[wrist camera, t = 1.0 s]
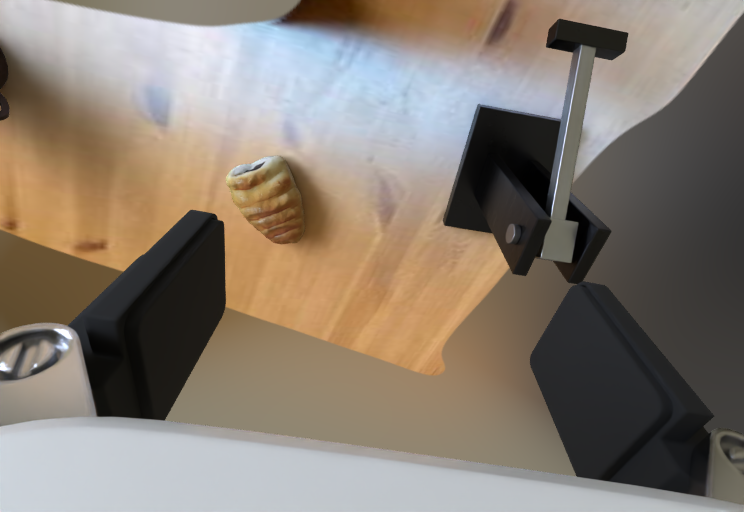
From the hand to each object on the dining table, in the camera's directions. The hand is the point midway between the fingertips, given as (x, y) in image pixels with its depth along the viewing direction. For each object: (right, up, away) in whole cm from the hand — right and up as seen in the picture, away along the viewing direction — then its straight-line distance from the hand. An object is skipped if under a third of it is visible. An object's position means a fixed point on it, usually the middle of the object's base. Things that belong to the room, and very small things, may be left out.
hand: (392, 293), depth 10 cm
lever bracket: (+12, +9, +27) cm, 32 cm away
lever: (+13, +9, +17) cm, 23 cm away
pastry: (-11, +8, +29) cm, 32 cm away
